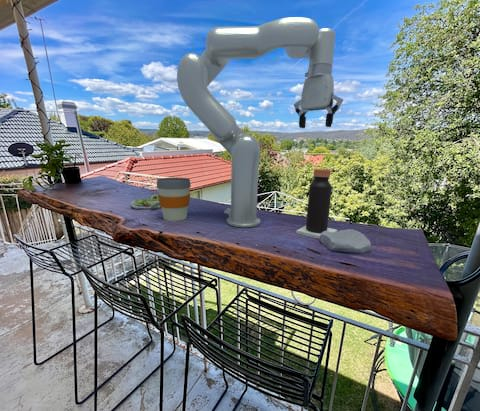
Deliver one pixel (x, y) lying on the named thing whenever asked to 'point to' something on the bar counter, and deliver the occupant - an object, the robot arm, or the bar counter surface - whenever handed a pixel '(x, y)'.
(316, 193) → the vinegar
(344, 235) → the stone block
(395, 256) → the bar counter surface
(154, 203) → the salad plate
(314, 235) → the tile
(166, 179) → the reusable coffee cup
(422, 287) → the bar counter surface
